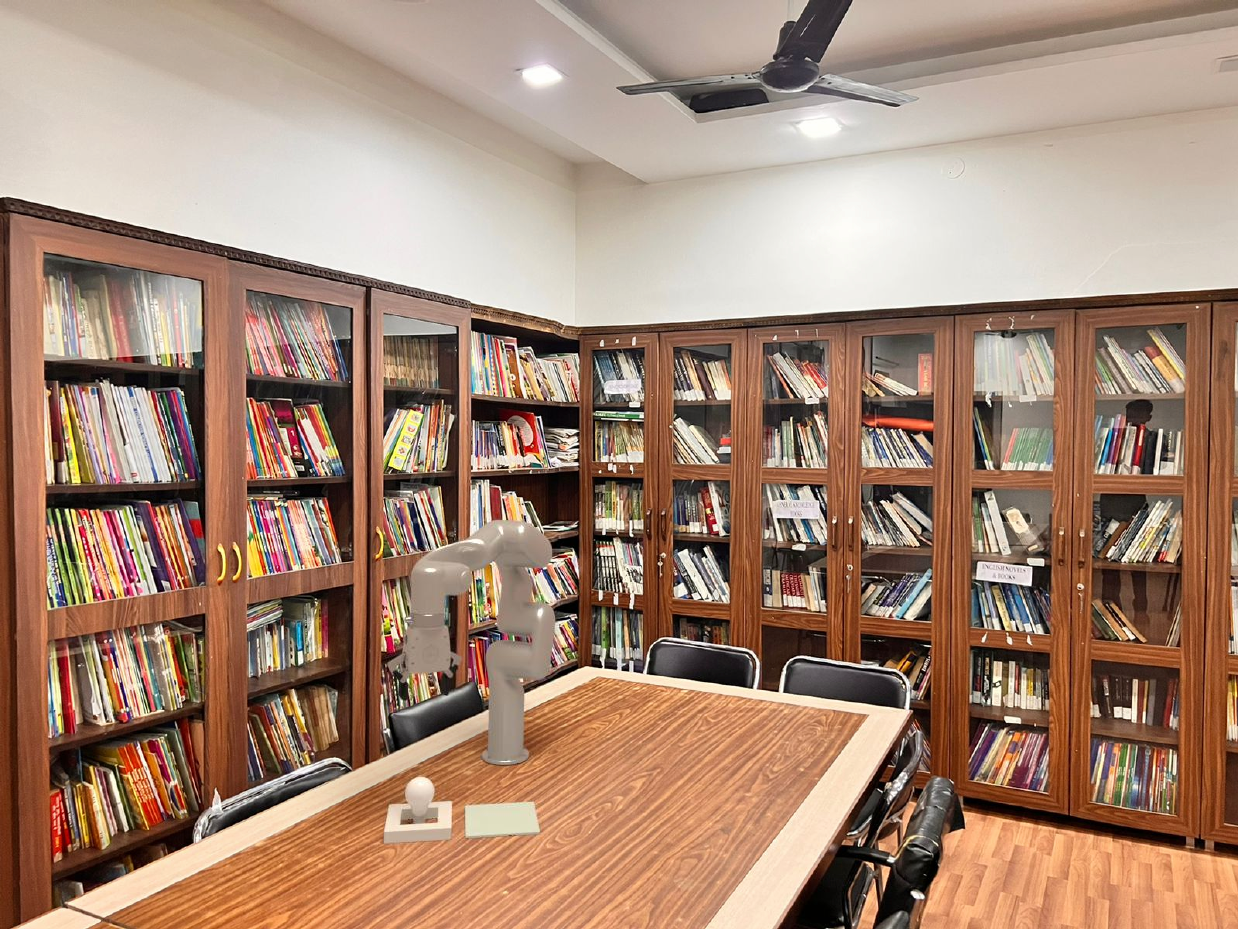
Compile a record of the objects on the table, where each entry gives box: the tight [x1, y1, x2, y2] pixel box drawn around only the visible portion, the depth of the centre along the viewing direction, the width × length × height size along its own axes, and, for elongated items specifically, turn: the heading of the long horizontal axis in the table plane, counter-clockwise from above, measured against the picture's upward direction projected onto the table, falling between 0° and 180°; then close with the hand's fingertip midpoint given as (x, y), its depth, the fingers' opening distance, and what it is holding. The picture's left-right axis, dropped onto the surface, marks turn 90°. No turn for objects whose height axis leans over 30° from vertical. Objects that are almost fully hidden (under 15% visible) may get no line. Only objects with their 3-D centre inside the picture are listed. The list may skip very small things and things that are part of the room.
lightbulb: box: [404, 776, 435, 824], centre depth 190 cm, size 6×6×11 cm
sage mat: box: [464, 801, 541, 839], centre depth 195 cm, size 16×16×1 cm
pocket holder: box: [383, 800, 453, 845], centre depth 191 cm, size 14×14×2 cm
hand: (424, 696), depth 194 cm, fingers open, 9 cm apart
